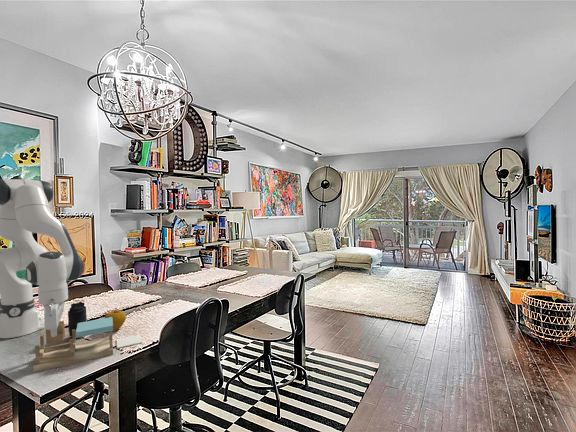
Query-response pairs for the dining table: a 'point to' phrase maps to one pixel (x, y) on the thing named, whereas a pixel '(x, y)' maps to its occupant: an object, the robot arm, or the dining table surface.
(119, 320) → the apple
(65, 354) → the beige notched bar
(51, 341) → the walnut block
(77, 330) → the sliding lid
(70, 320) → the black bottle
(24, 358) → the dining table surface
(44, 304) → the robot arm
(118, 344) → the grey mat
